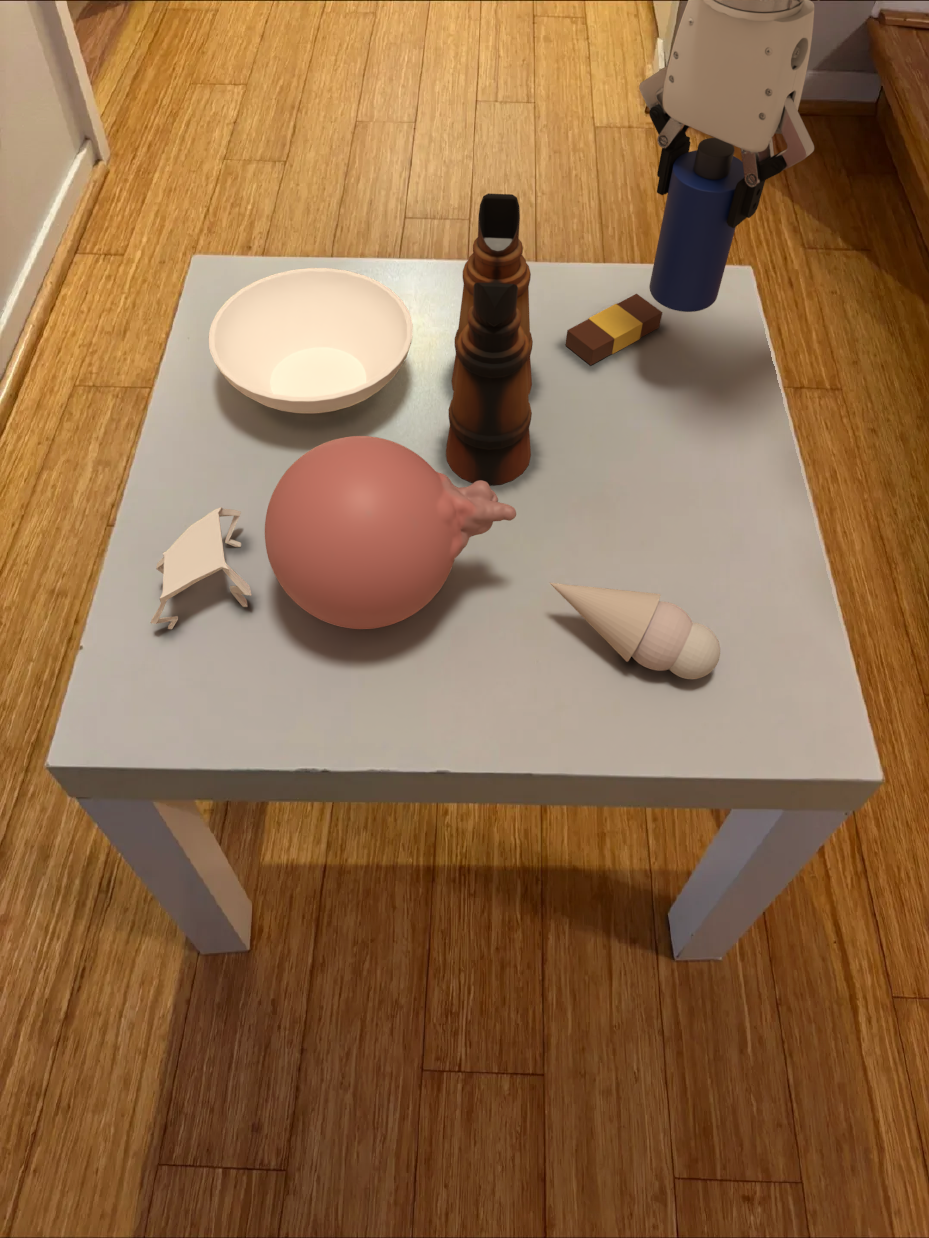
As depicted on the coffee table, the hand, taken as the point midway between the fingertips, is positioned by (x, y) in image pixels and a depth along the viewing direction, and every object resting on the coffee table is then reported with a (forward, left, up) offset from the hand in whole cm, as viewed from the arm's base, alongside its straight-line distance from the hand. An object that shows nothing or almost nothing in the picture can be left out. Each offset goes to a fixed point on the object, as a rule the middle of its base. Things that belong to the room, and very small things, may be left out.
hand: (703, 202), depth 85 cm
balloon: (+2, +38, -20) cm, 43 cm away
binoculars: (+10, +16, -20) cm, 27 cm away
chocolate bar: (+8, -2, -20) cm, 21 cm away
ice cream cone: (-16, +30, -20) cm, 39 cm away
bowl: (+26, +24, -20) cm, 41 cm away
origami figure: (+15, +48, -20) cm, 54 cm away
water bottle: (0, 0, -9) cm, 9 cm away
